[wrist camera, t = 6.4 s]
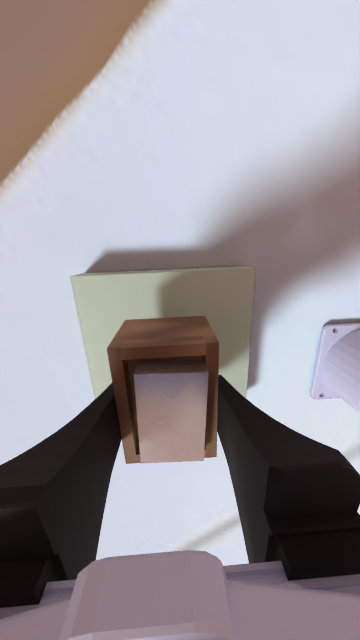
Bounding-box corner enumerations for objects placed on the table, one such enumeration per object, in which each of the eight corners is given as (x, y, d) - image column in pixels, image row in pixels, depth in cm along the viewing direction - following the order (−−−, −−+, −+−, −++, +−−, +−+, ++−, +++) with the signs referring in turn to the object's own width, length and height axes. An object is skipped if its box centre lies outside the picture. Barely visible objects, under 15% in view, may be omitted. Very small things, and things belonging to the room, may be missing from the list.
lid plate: (203, 355, 10) (208, 372, 9) (199, 435, 12) (203, 460, 11) (138, 356, 10) (133, 374, 9) (144, 437, 12) (140, 463, 10)
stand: (243, 265, 17) (255, 268, 15) (236, 396, 21) (244, 415, 19) (84, 273, 17) (69, 276, 14) (108, 405, 21) (100, 424, 18)
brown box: (204, 315, 13) (219, 342, 9) (204, 405, 15) (216, 456, 12) (125, 319, 13) (106, 348, 9) (136, 410, 15) (126, 463, 11)
